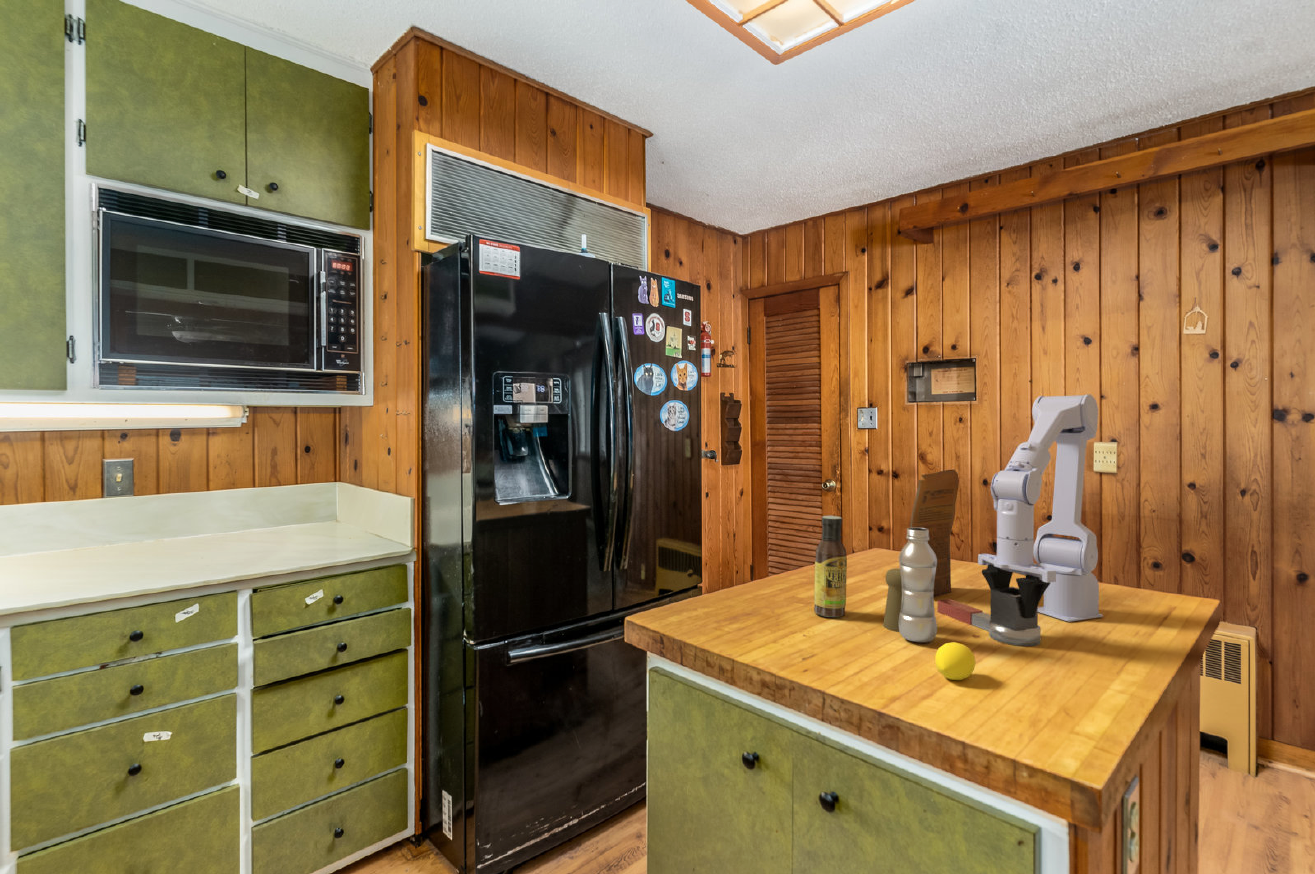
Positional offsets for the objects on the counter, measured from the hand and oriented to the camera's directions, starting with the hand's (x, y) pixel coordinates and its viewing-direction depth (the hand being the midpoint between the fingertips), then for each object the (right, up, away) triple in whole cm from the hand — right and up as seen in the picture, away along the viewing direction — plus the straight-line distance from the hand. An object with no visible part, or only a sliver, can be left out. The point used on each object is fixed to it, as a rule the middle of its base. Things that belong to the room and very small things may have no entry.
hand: (1014, 612), depth 111 cm
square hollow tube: (0, -2, 0) cm, 2 cm away
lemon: (-19, -5, -17) cm, 26 cm away
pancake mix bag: (-2, -4, +29) cm, 29 cm away
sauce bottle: (-29, -5, +15) cm, 33 cm away
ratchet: (-2, -4, +6) cm, 8 cm away
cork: (-18, -5, +7) cm, 20 cm away
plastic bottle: (-18, -5, 0) cm, 18 cm away
